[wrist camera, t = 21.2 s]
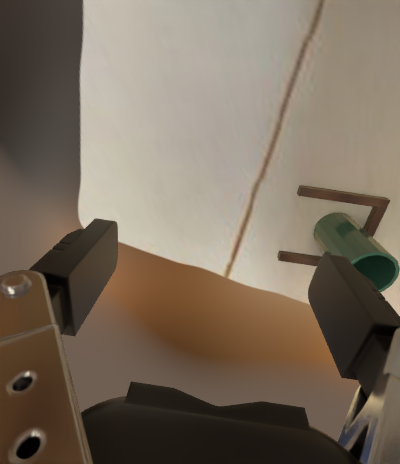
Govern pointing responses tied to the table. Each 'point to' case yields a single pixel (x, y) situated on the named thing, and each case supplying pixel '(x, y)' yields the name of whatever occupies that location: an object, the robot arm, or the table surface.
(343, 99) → the table surface
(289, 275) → the table surface
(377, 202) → the bay
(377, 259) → the tumbler
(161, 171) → the table surface
